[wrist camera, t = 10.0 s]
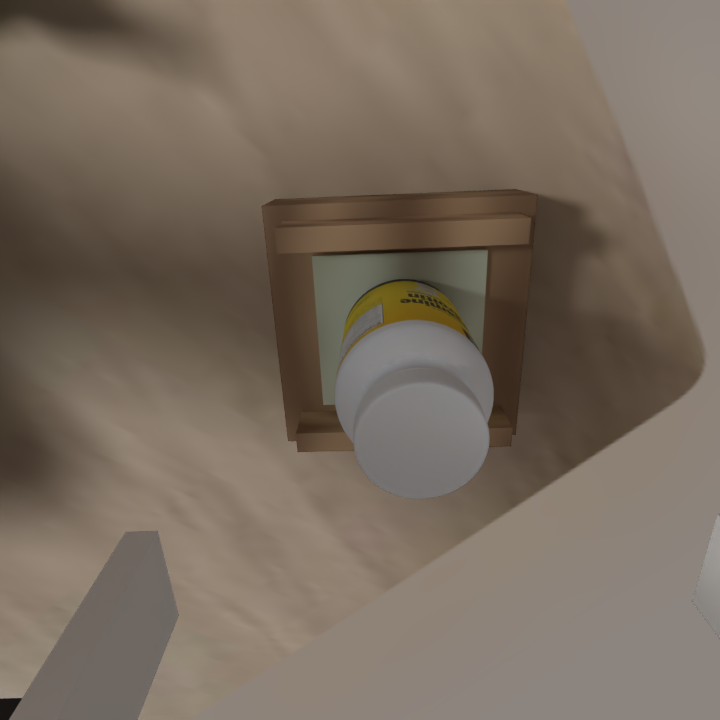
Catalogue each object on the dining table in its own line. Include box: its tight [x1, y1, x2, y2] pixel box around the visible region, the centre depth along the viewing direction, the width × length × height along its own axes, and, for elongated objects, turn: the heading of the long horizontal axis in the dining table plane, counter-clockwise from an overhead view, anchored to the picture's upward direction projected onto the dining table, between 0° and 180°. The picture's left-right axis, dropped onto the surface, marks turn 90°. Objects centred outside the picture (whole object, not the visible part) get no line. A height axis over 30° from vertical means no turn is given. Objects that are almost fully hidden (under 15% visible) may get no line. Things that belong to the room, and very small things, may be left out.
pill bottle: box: [335, 279, 494, 499], centre depth 22 cm, size 6×6×12 cm
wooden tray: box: [262, 189, 537, 452], centre depth 29 cm, size 14×14×6 cm
